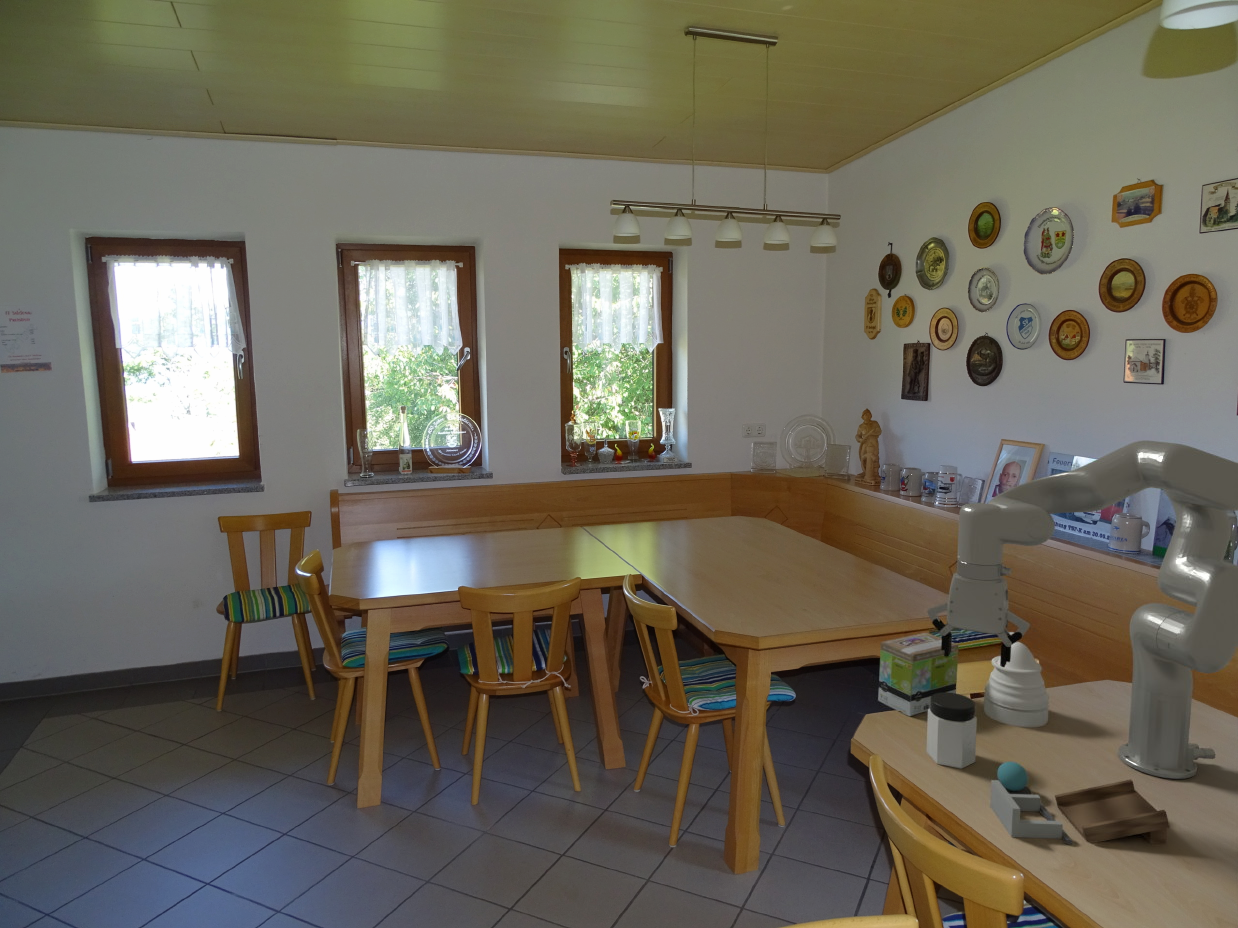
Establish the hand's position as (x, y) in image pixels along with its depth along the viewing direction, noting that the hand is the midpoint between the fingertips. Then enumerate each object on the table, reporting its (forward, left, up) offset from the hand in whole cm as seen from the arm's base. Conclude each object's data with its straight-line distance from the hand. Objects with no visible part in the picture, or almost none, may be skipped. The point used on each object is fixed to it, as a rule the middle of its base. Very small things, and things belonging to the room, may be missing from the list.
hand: (975, 659), depth 144 cm
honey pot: (-20, -28, -23) cm, 42 cm away
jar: (+1, -7, -23) cm, 25 cm away
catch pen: (-4, +15, -23) cm, 28 cm away
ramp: (-18, +15, -23) cm, 33 cm away
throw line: (-8, +15, -23) cm, 29 cm away
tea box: (0, -33, -23) cm, 41 cm away
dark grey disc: (-6, +5, -23) cm, 24 cm away
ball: (-6, +5, -20) cm, 22 cm away
